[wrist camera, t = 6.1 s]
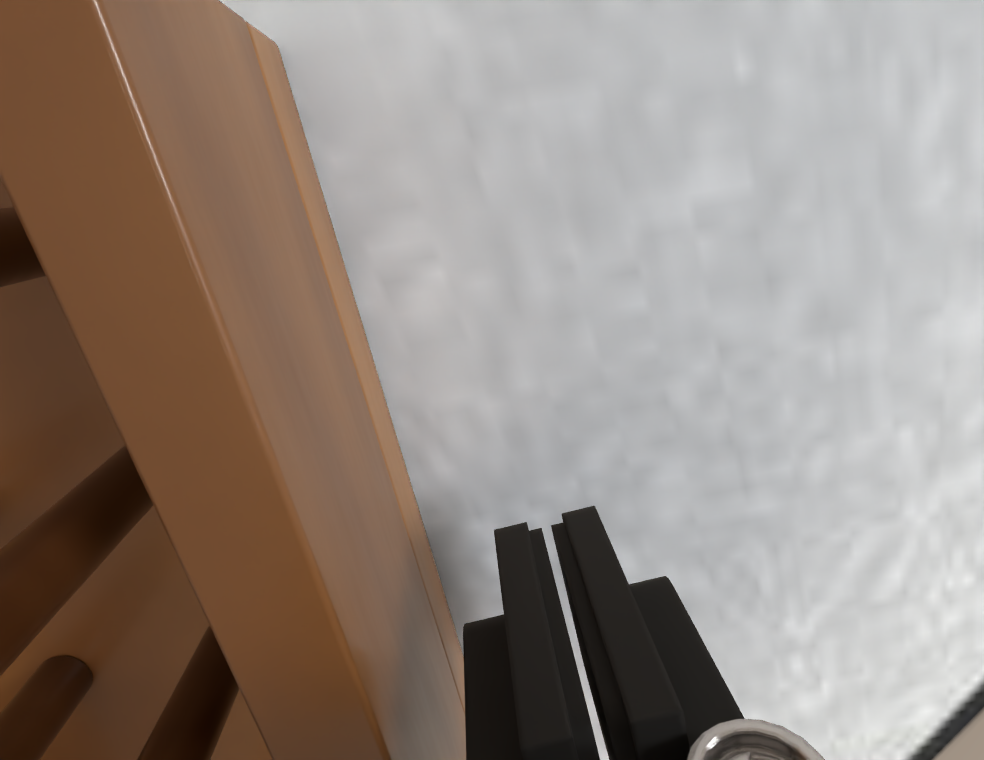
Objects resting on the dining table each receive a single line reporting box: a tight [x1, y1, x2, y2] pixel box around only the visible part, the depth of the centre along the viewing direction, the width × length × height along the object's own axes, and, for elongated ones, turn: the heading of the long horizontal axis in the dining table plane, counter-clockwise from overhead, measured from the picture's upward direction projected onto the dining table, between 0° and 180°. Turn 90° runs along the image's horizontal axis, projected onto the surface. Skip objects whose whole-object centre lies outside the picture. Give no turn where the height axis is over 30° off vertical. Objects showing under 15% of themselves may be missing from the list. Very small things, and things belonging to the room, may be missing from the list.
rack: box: [0, 0, 466, 760], centre depth 9 cm, size 10×18×6 cm, turn 13°
